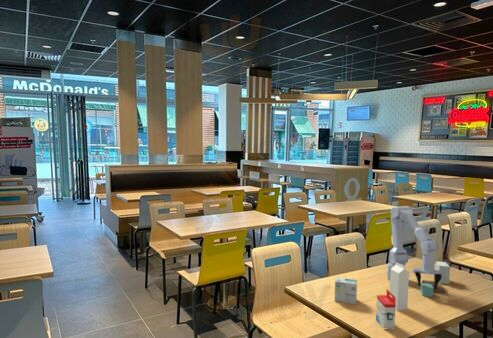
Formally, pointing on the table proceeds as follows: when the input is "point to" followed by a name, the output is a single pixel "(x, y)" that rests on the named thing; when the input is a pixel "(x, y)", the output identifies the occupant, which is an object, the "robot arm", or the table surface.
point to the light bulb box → (345, 290)
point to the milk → (399, 286)
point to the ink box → (386, 310)
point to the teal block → (426, 290)
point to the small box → (445, 268)
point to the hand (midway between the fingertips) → (427, 286)
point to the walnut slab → (439, 287)
